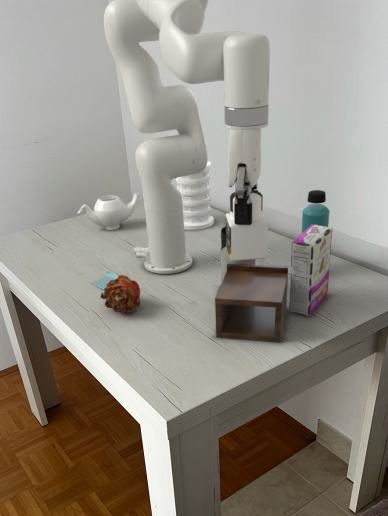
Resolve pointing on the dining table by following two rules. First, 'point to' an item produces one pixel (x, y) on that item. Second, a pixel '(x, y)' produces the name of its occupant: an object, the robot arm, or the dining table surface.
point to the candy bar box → (310, 269)
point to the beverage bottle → (315, 210)
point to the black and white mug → (226, 258)
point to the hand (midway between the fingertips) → (246, 216)
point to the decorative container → (196, 199)
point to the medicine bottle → (247, 232)
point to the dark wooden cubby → (252, 302)
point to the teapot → (110, 211)
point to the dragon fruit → (121, 294)
